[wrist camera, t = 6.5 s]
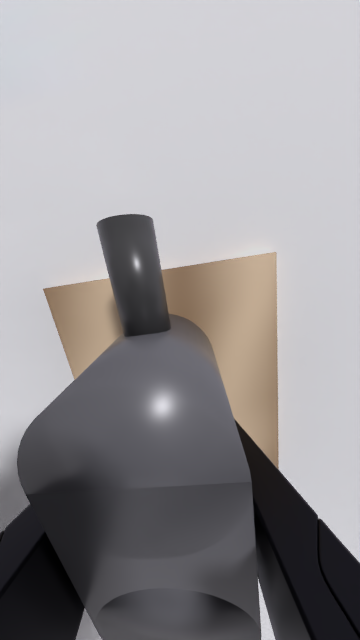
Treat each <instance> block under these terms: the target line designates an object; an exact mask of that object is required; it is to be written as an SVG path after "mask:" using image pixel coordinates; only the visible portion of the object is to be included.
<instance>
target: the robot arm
mask: <svg viewBox="0 0 360 640" xmlns="http://www.w3.org/2000/svg"><path fill="white" fill-rule="evenodd" d="M234 420H235V419H234ZM235 423H236V427H237V430H238V433H239V436H240V440H241V443H242V446H243V449H244V453H245V456H246V459H247V463H248V466H249V469H250V475H251V481H252V496H253V511H254V527H255V543H256V559H257V575H258V579H259V583H260V586H261V590H262V593H263V597H264V600H265V604H266V608H267V611H268V615H269V618H270V622H271V625H272V629H273V632H274V636H275V639H276V640H360V563H359V562H358V561H357V559H356V558H355V557H354V556H353V555H352V554H351V553H350V552H349V550H348V549H347V548H346V547H345V546H344V545H343V544H342V543H341V541H340V540H339V539H338V538H337V537H336V536H335V535H334V533H333V532H332V531H331V530H330V529H329V528H328V526H327V525H326V524H325V523H324V522H323V521H322V520H321V519H318V515H317V514H316V513H315V512H314V510H313V509H312V508H311V507H310V506H309V505H308V503H307V502H306V501H305V500H304V499H303V498H302V496H301V495H300V494H299V493H298V492H297V491H296V489H295V488H294V487H293V486H292V485H291V484H290V483H289V481H288V480H287V479H286V478H285V477H284V476H283V474H282V473H281V472H280V471H279V470H278V469H277V467H276V466H275V465H274V464H273V463H272V462H271V460H270V459H269V458H268V457H267V456H266V455H265V453H264V452H263V451H262V450H261V449H260V448H259V447H258V445H257V444H256V443H255V442H254V441H253V440H252V438H251V437H250V436H249V435H248V434H247V433H246V431H245V430H244V429H243V428H242V427H241V426H240V424H239V423H238V422H237V421H236V420H235ZM84 608H85V607H84V605H83V603H82V601H81V599H80V597H79V595H78V593H77V591H76V589H75V588H74V586H73V584H72V582H71V580H70V578H69V576H68V574H67V572H66V570H65V568H64V567H63V565H62V563H61V561H60V559H59V557H58V555H57V553H56V551H55V549H54V548H53V546H52V544H51V542H50V540H49V538H48V536H47V534H46V532H45V530H44V529H43V527H42V525H41V523H40V521H39V519H38V517H37V515H36V513H35V511H34V509H33V508H32V506H31V504H30V505H29V506H28V507H27V508H26V509H25V510H24V511H23V512H22V513H21V514H19V515H18V516H17V517H16V518H15V519H14V520H13V521H12V522H11V523H10V524H9V525H8V526H7V527H6V529H5V531H2V532H1V533H0V640H75V639H76V636H77V632H78V629H79V625H80V622H81V618H82V615H83V612H84Z"/></svg>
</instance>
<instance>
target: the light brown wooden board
mask: <svg viewBox="0 0 360 640" xmlns="http://www.w3.org/2000/svg"><path fill="white" fill-rule="evenodd" d="M161 271H162V277H163V283H164V289H165V295H166V300H167V306H168V312H169V314H173V315H178V316H181V317H184V318H186V319H188V320H190V321H192V322H193V323H195V324H196V325H197V326H198V327H200V328H201V329H202V331H203V332H204V333H205V334H206V336H207V337H208V339H209V341H210V343H211V345H212V348H213V351H214V354H215V358H216V361H217V364H218V368H219V371H220V374H221V377H222V381H223V384H224V387H225V390H226V394H227V397H228V400H229V404H230V407H231V410H232V413H233V417H234V419H235V420H236V421H237V422H238V423H239V424H240V426H241V427H242V428H243V429H244V430H245V431H246V433H247V434H248V435H249V436H250V437H251V438H252V440H253V441H254V442H255V443H256V444H257V445H258V447H259V448H260V449H261V450H262V451H263V452H264V453H265V455H266V456H267V457H268V458H269V459H270V460H271V462H272V463H273V464H274V465H275V466H276V467H277V469H278V375H277V274H276V252H273V253H267V254H261V255H254V256H248V257H242V258H235V259H229V260H223V261H216V262H210V263H204V264H197V265H191V266H185V267H178V268H172V269H166V270H161ZM43 290H44V293H45V296H46V299H47V302H48V304H49V307H50V310H51V313H52V316H53V319H54V322H55V325H56V327H57V330H58V333H59V336H60V339H61V342H62V345H63V348H64V351H65V353H66V356H67V359H68V362H69V365H70V368H71V371H72V374H73V376H74V379H76V378H77V377H78V376H79V375H80V374H81V373H82V372H83V371H84V370H86V369H87V368H88V367H89V366H90V365H91V364H92V363H93V362H94V361H95V360H96V359H97V358H98V357H99V356H100V355H101V354H102V353H103V352H104V351H105V350H106V349H107V348H108V347H109V346H110V345H111V344H112V343H113V342H114V341H115V340H116V339H117V338H118V337H119V336H120V335H121V334H122V333H123V331H122V327H121V323H120V319H119V315H118V311H117V307H116V302H115V298H114V294H113V290H112V286H111V282H110V278H109V279H102V280H96V281H90V282H83V283H77V284H71V285H64V286H58V287H51V288H45V289H43Z"/></svg>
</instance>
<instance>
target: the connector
mask: <svg viewBox="0 0 360 640" xmlns="http://www.w3.org/2000/svg"><path fill="white" fill-rule="evenodd" d="M97 229H98V233H99V237H100V241H101V245H102V250H103V254H104V258H105V262H106V266H107V270H108V274H109V278H110V282H111V286H112V290H113V294H114V298H115V302H116V307H117V311H118V315H119V319H120V323H121V327H122V331H123V333H122V334H121V335H120V336H119V337H118V338H117V339H116V340H115V341H114V342H113V343H112V344H111V345H110V346H109V347H108V348H107V349H106V350H105V351H104V352H103V353H102V354H101V355H100V356H99V357H98V358H97V359H96V360H95V361H94V362H93V363H92V364H91V365H90V366H89V367H88V368H87V369H86V370H84V371H83V372H82V373H81V374H80V375H79V376H78V377H77V378H76V379H75V380H74V381H73V382H72V383H71V384H70V385H69V386H68V387H67V388H66V389H65V390H64V391H63V392H62V393H61V394H60V395H59V396H58V397H57V398H56V399H55V400H54V401H53V402H52V403H51V404H50V405H49V406H48V407H47V408H45V409H44V410H43V411H42V412H41V413H40V414H39V415H38V416H37V417H36V418H35V419H34V420H33V422H32V423H31V424H30V426H29V427H28V428H27V430H26V432H25V434H24V436H23V438H22V440H21V443H20V446H19V450H18V458H17V466H18V474H19V478H20V482H21V485H22V487H23V490H24V492H25V494H26V496H27V498H28V500H29V502H30V504H31V506H32V508H33V509H34V511H35V513H36V515H37V517H38V519H39V521H40V523H41V525H42V527H43V529H44V530H45V532H46V534H47V536H48V538H49V540H50V542H51V544H52V546H53V548H54V549H55V551H56V553H57V555H58V557H59V559H60V561H61V563H62V565H63V567H64V568H65V570H66V572H67V574H68V576H69V578H70V580H71V582H72V584H73V586H74V588H75V589H76V591H77V593H78V595H79V597H80V599H81V601H82V603H83V605H84V607H85V608H86V610H87V612H88V614H89V616H90V618H91V620H92V622H93V624H94V626H95V628H96V629H97V631H98V633H99V635H100V636H101V638H102V639H103V640H261V623H260V607H259V591H258V575H257V559H256V543H255V527H254V511H253V496H252V481H251V475H250V469H249V466H248V463H247V459H246V456H245V453H244V449H243V446H242V443H241V440H240V436H239V433H238V430H237V427H236V423H235V420H234V417H233V413H232V410H231V407H230V404H229V400H228V397H227V394H226V390H225V387H224V384H223V381H222V377H221V374H220V371H219V368H218V364H217V361H216V358H215V354H214V351H213V348H212V345H211V343H210V341H209V339H208V337H207V336H206V334H205V333H204V332H203V331H202V329H201V328H200V327H198V326H197V325H196V324H195V323H193V322H192V321H190V320H188V319H186V318H184V317H181V316H178V315H173V314H169V312H168V306H167V300H166V295H165V289H164V283H163V277H162V271H161V265H160V259H159V254H158V248H157V242H156V236H155V230H154V224H153V219H152V218H151V217H149V216H145V215H138V214H127V215H118V216H112V217H108V218H105V219H103V220H101V221H99V222H98V223H97Z"/></svg>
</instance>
